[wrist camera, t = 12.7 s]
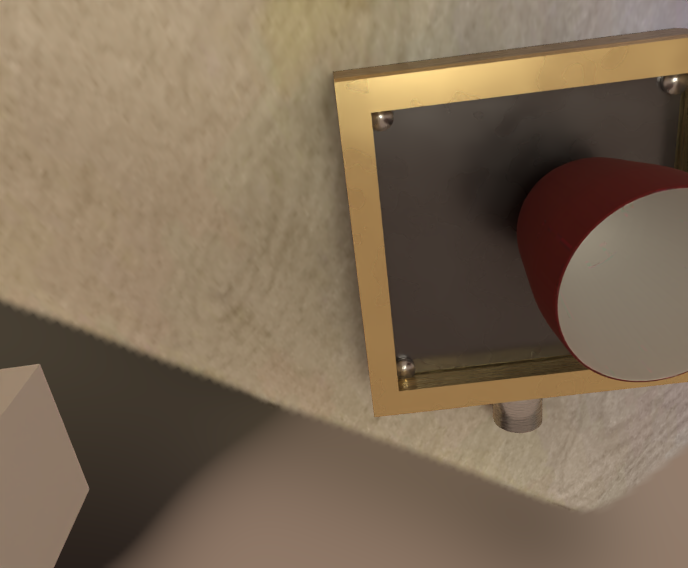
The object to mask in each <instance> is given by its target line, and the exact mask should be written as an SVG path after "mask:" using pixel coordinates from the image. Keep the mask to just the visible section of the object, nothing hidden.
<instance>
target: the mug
mask: <svg viewBox="0 0 688 568" xmlns="http://www.w3.org/2000/svg"><path fill="white" fill-rule="evenodd" d="M517 243H518V248H519V253H520V256H521V259H522V262H523V265H524V268H525V271H526V275H527V278H528V281H529V284H530V287H531V290H532V293H533V296H534V298H535V301H536V303H537V305H538V308H539V310H540V312H541V313H542V315H543V317H544V318H545V320H546V322H547V324H548V325H549V326H550V328H551V329H552V330H553V332H554V333H555V334H556V336H557V337H558V338H559V340H560V341H561V342H562V343H563V345H564V346H565V347H566V348H567V350H568V351H569V352H570V353H571V354H572V355H573V357H574V358H575V359H576V360H577V361H579V362H580V363H581V364H582V365H584V366H585V367H586V368H588V369H590V370H591V371H593V372H595V373H597V374H599V375H601V376H604V377H607V378H610V379H614V380H619V381H625V382H652V381H659V380H664V379H668V378H672V377H676V376H678V375H681V374H684V373H687V372H688V173H687V172H684V171H681V170H678V169H675V168H671V167H666V166H662V165H656V164H649V163H642V162H635V161H628V160H622V159H615V158H606V157H592V158H583V159H578V160H575V161H571V162H569V163H566V164H563V165H561V166H559V167H557V168H555V169H554V170H552V171H550V172H549V173H548V174H546V175H545V176H544V177H543V178H541V179H540V180H539V181H538V182H537V183H536V184H535V186H534V187H533V188H532V189H531V191H530V192H529V194H528V195H527V197H526V199H525V200H524V203H523V205H522V207H521V210H520V213H519V218H518V223H517Z"/></svg>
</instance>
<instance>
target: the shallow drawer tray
mask: <svg viewBox="0 0 688 568" xmlns="http://www.w3.org/2000/svg"><path fill="white" fill-rule="evenodd" d="M333 74H334V86H335V94H336V102H337V111H338V119H339V127H340V135H341V144H342V152H343V160H344V169H345V177H346V185H347V194H348V202H349V210H350V218H351V227H352V235H353V243H354V252H355V260H356V268H357V277H358V285H359V293H360V301H361V310H362V318H363V326H364V335H365V343H366V351H367V360H368V368H369V376H370V384H371V393H372V401H373V409H374V417H380V416H388V415H397V414H406V413H415V412H424V411H433V410H442V409H451V408H459V407H468V406H477V405H486V404H493V419H494V422H495V423H496V425H498V426H499V427H500V428H502V429H504V430H506V431H510V432H515V433H524V432H530V431H533V430H535V429H537V428H538V427H539V426H540V425H541V423H542V398H548V397H557V396H566V395H575V394H584V393H593V392H601V391H610V390H619V389H628V388H637V387H646V386H655V385H664V384H672V383H681V382H688V372H687V373H684V374H681V375H678V376H676V377H672V378H668V379H664V380H659V381H652V382H625V381H619V380H614V379H610V378H607V377H604V376H601V375H599V374H597V373H595V372H593V371H591V370H590V369H588V368H586V367H585V366H584V365H582V364H581V363H580V362H579V361H577V360H576V359H575V358H574V357H573V355H572V354H571V353H570V352H569V351H568V350H567V348H566V347H565V346H564V345H563V343H562V342H561V341H560V340H559V338H558V337H557V336H556V334H555V333H554V332H553V330H552V329H551V328H550V326H549V325H548V324H547V322H546V320H545V318H544V317H543V315H542V313H541V312H540V310H539V308H538V305H537V303H536V301H535V298H534V296H533V293H532V290H531V287H530V284H529V281H528V278H527V275H526V271H525V268H524V265H523V262H522V259H521V256H520V253H519V248H518V243H517V223H518V218H519V213H520V210H521V207H522V205H523V203H524V200H525V199H526V197H527V195H528V194H529V192H530V191H531V189H532V188H533V187H534V186H535V184H536V183H537V182H538V181H539V180H540V179H541V178H543V177H544V176H545V175H546V174H548V173H549V172H550V171H552V170H554V169H555V168H557V167H559V166H561V165H563V164H566V163H569V162H571V161H575V160H578V159H583V158H592V157H606V158H615V159H622V160H628V161H635V162H642V163H649V164H656V165H662V166H666V167H671V168H675V169H678V170H681V171H684V172H687V173H688V29H687V28H671V29H664V30H656V31H648V32H640V33H632V34H625V35H617V36H609V37H601V38H593V39H585V40H578V41H570V42H562V43H554V44H546V45H539V46H531V47H523V48H515V49H507V50H499V51H492V52H484V53H476V54H468V55H460V56H453V57H445V58H437V59H429V60H421V61H413V62H406V63H398V64H390V65H382V66H374V67H367V68H359V69H351V70H343V71H335V72H333Z"/></svg>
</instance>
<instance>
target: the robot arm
mask: <svg viewBox="0 0 688 568" xmlns="http://www.w3.org/2000/svg"><path fill="white" fill-rule="evenodd" d="M88 491H89V487H88V484H87V482H86V479H85V477H84V475H83V472H82V469H81V467H80V464H79V462H78V459H77V457H76V454H75V451H74V449H73V446H72V444H71V441H70V439H69V436H68V434H67V431H66V429H65V426H64V424H63V421H62V419H61V416H60V414H59V411H58V408H57V406H56V403H55V401H54V398H53V396H52V393H51V391H50V388H49V386H48V383H47V381H46V378H45V375H44V373H43V370H42V368H41V365H40V364H35V365H28V366H21V367H13V368H6V369H0V568H54V566H55V563H56V561H57V559H58V557H59V554H60V552H61V550H62V548H63V546H64V544H65V541H66V539H67V537H68V535H69V532H70V530H71V528H72V526H73V524H74V522H75V519H76V517H77V515H78V513H79V511H80V508H81V506H82V504H83V502H84V500H85V497H86V495H87V493H88Z"/></svg>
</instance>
